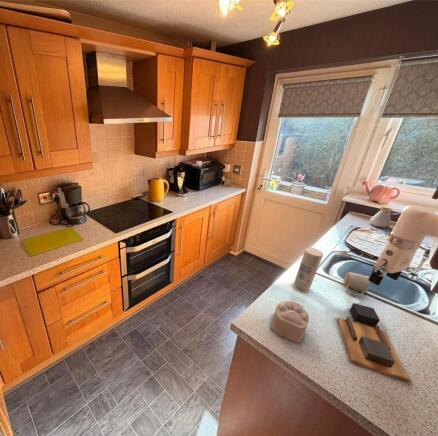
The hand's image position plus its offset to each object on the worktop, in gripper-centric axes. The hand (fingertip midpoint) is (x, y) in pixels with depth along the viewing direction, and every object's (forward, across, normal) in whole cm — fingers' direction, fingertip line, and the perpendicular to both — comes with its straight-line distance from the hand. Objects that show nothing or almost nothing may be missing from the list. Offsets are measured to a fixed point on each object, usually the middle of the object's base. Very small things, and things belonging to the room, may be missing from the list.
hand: (382, 280), depth 87 cm
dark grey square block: (+17, -4, -2) cm, 18 cm away
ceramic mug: (+17, +11, +11) cm, 23 cm away
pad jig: (+17, -15, -11) cm, 25 cm away
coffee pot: (+17, +102, +50) cm, 115 cm away
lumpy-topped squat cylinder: (+17, -35, +4) cm, 39 cm away
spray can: (+17, -12, +19) cm, 28 cm away
